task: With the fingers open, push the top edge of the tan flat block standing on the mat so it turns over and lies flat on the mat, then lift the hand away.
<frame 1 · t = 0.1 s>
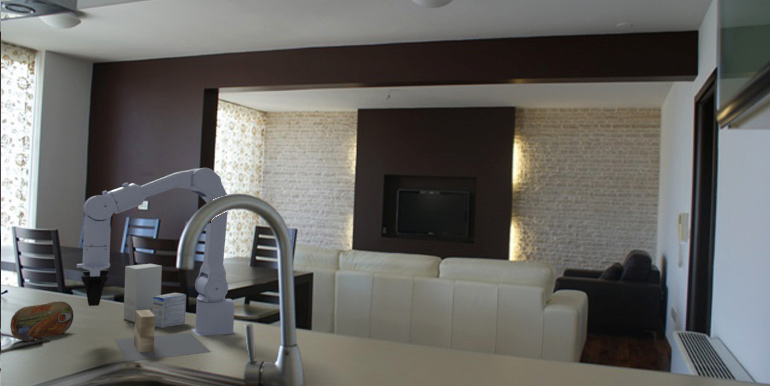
hand: (94, 302, 134), 10 cm above the countertop, fingers open, 7 cm apart
tan flat block: (143, 347, 131), point 1 cm above the countertop, touching mat
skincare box: (141, 319, 163), on the countertop
mat: (161, 348, 133), on the countertop
tin: (41, 338, 139), on the countertop
medicine box: (168, 327, 155), on the countertop
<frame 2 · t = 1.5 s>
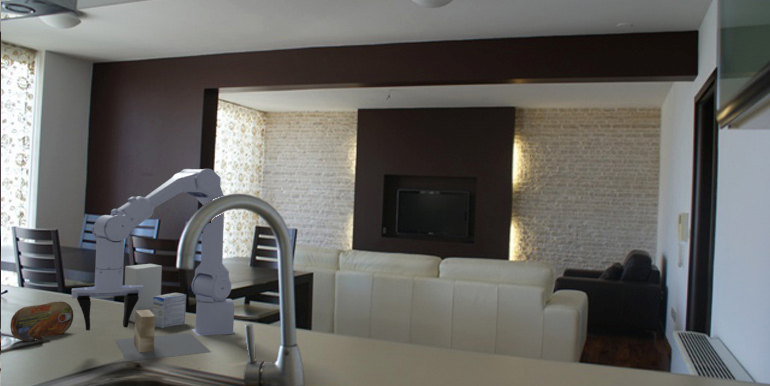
hand: (106, 327, 127), 6 cm above the countertop, fingers open, 7 cm apart
nothing on the countertop moved.
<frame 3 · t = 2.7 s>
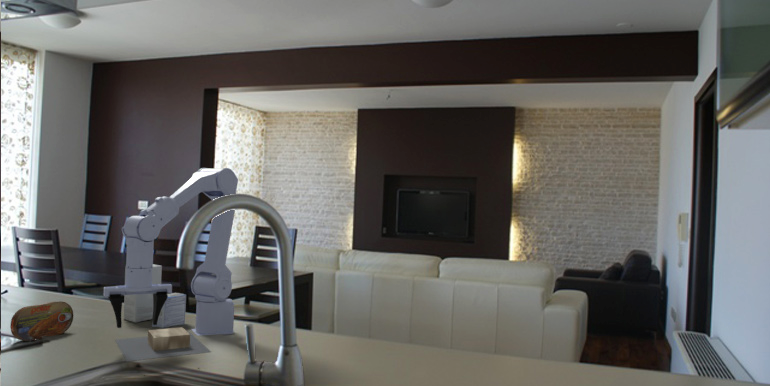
hand: (137, 325, 131), 6 cm above the countertop, fingers open, 7 cm apart
tan flat block: (150, 340, 132), point 2 cm above the countertop, tilted 90°, touching mat
everything else where it was.
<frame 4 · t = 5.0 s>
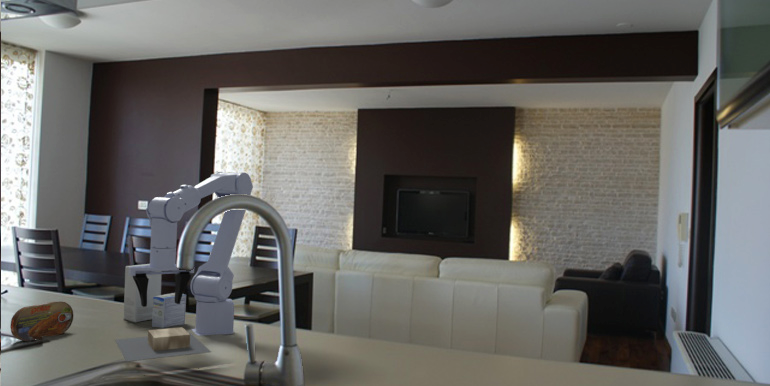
hand: (160, 304, 133), 10 cm above the countertop, fingers open, 7 cm apart
nothing on the countertop moved.
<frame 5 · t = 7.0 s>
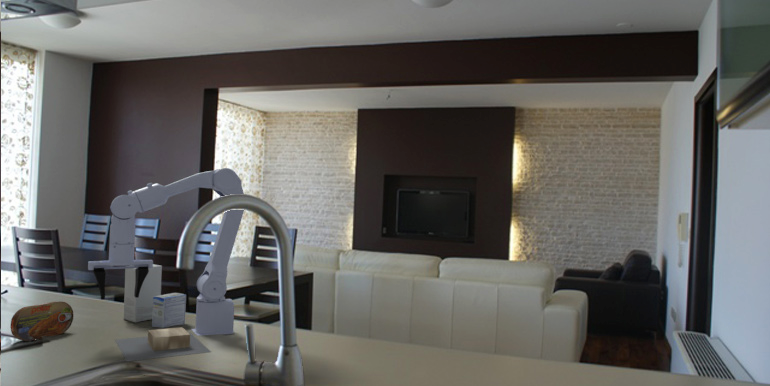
hand: (119, 297, 139), 10 cm above the countertop, fingers open, 7 cm apart
nothing on the countertop moved.
at the end: tan flat block tilted 90°; tan flat block inside the target area (0.0 cm from its centre), point 2.1 cm above the countertop; tan flat block touching mat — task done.
